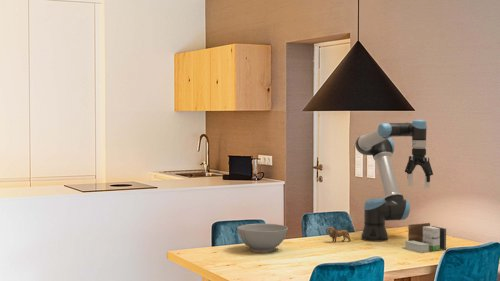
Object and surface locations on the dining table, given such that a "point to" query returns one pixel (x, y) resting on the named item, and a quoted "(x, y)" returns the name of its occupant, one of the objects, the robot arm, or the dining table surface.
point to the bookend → (442, 238)
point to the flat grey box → (417, 246)
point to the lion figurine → (338, 234)
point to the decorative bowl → (262, 236)
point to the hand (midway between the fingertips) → (418, 186)
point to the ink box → (431, 237)
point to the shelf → (417, 233)
